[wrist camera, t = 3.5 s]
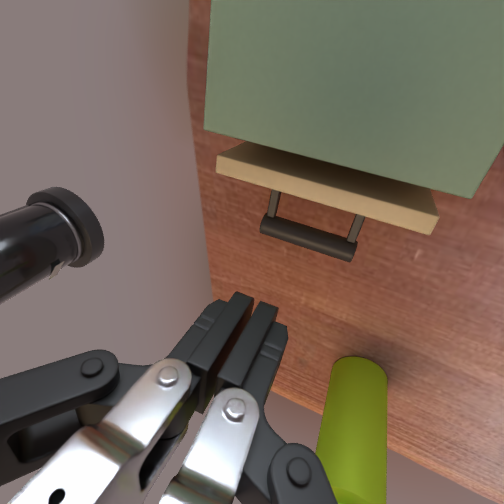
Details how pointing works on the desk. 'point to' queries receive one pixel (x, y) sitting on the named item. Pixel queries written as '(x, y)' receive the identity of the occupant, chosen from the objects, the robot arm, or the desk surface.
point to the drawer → (327, 196)
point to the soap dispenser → (355, 432)
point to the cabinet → (364, 84)
